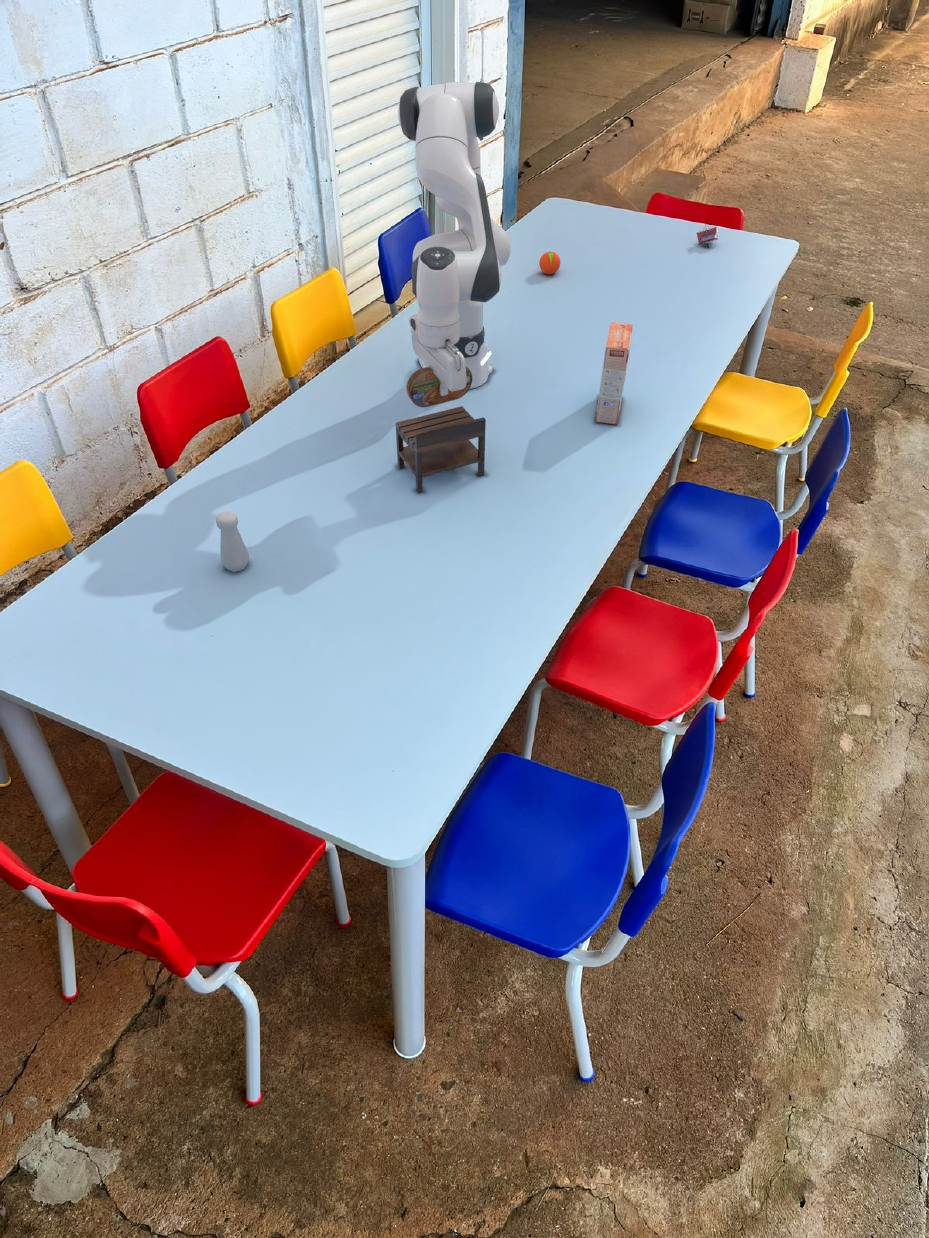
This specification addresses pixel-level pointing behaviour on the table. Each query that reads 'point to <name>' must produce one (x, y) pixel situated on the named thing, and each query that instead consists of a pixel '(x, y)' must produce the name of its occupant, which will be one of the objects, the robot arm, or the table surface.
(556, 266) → the clementine
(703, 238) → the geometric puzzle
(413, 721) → the table surface
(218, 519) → the salt shaker
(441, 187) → the robot arm
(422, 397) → the tin
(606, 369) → the cracker box
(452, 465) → the rack
